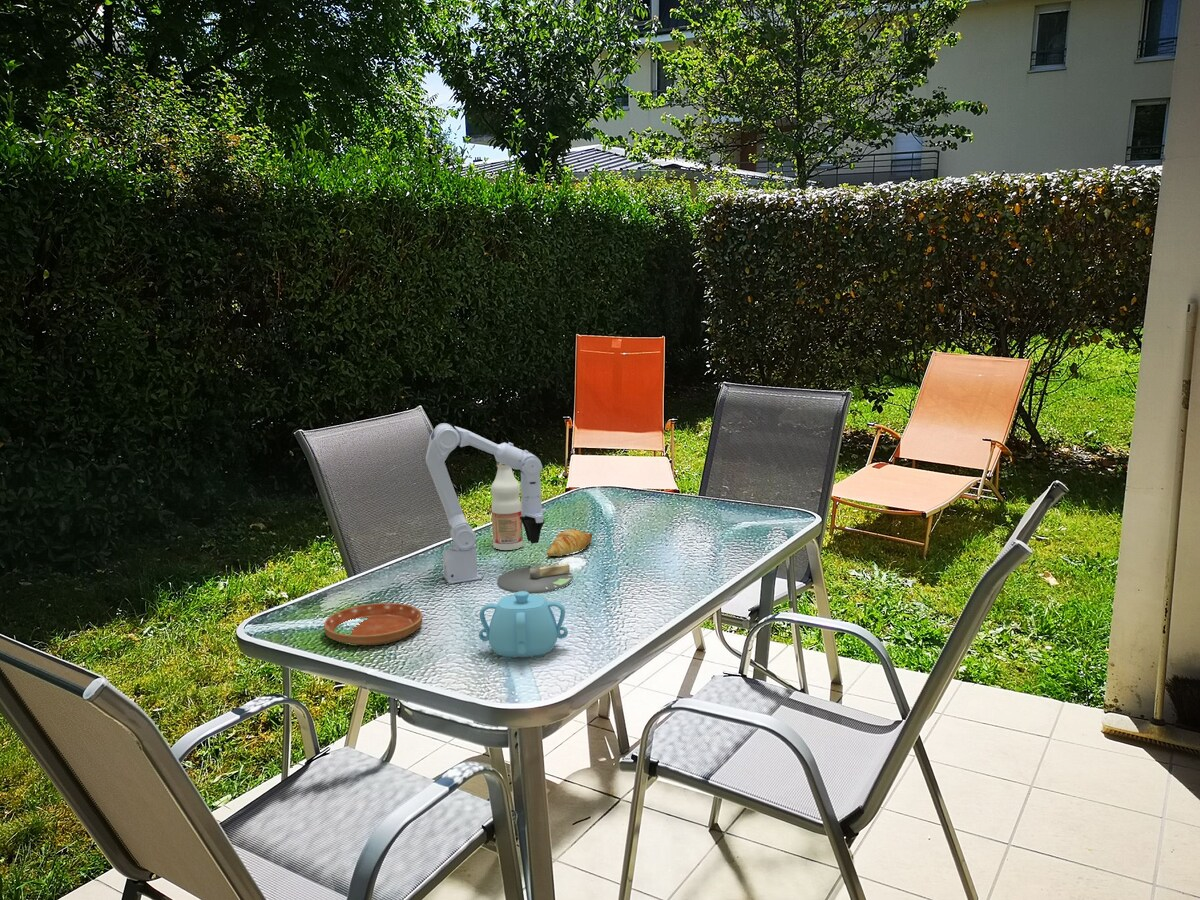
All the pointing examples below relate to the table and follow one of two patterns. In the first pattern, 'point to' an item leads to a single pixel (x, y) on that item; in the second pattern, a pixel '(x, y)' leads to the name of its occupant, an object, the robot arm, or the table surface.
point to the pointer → (549, 570)
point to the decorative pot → (522, 625)
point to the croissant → (569, 542)
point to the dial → (532, 581)
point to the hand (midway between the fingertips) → (533, 541)
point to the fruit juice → (506, 510)
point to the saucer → (375, 623)
